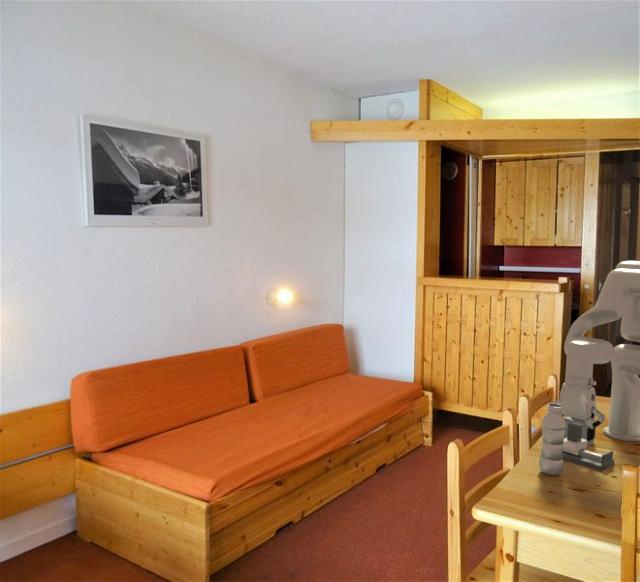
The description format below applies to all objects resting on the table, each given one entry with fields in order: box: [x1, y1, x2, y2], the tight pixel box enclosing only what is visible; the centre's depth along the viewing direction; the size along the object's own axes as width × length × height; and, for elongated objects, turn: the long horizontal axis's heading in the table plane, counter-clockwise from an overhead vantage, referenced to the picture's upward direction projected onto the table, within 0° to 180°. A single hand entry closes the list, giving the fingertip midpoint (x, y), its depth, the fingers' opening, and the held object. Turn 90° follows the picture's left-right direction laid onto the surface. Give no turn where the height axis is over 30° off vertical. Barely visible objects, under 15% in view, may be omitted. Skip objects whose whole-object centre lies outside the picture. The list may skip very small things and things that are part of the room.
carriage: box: [563, 422, 588, 455], centre depth 184 cm, size 7×5×8 cm
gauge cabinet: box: [563, 416, 596, 447], centre depth 198 cm, size 8×7×8 cm
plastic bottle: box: [538, 403, 566, 476], centre depth 170 cm, size 6×7×20 cm
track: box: [563, 449, 616, 472], centre depth 182 cm, size 9×14×4 cm, turn 40°
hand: (574, 435), depth 184 cm, fingers open, 9 cm apart
